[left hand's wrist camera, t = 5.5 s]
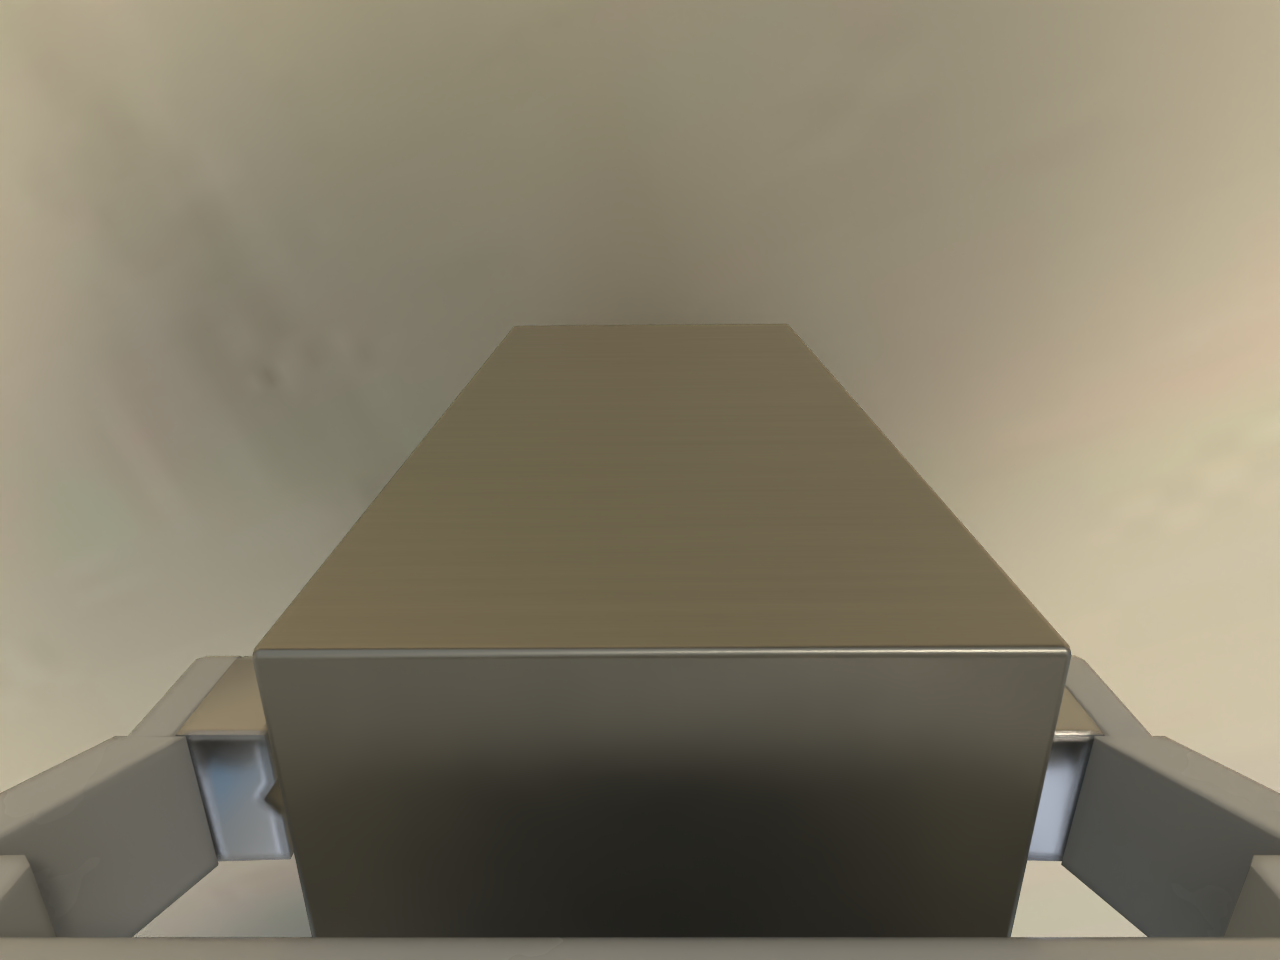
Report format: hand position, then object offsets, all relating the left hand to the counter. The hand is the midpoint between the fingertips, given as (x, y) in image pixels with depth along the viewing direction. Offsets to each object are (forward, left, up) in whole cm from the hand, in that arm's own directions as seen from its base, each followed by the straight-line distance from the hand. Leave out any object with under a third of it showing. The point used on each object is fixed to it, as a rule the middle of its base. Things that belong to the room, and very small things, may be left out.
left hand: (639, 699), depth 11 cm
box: (+7, 0, -9) cm, 11 cm away
